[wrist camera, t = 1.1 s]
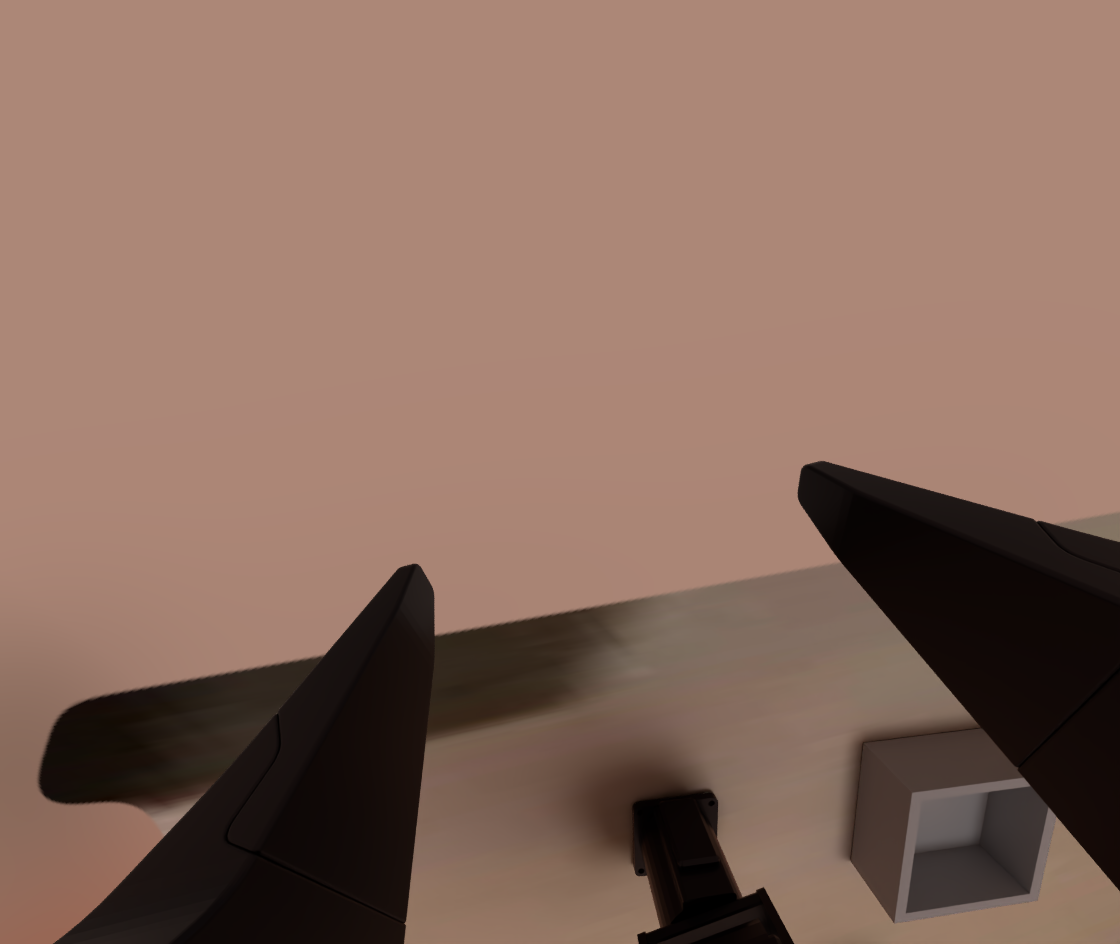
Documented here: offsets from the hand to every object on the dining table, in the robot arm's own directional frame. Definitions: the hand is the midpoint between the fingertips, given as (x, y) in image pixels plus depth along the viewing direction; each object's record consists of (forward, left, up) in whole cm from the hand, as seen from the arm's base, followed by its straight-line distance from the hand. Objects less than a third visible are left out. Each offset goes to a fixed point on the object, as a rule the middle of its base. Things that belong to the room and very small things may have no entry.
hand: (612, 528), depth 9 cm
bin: (-31, -28, -16) cm, 45 cm away
